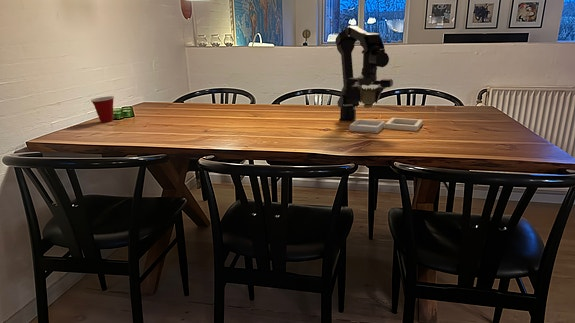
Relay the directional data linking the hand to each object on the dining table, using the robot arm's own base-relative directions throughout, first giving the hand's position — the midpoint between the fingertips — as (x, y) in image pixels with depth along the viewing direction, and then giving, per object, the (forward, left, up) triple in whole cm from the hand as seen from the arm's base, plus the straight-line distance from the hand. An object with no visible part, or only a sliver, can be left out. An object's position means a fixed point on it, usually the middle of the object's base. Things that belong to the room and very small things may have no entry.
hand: (368, 102), depth 168 cm
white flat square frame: (+14, +10, -11) cm, 21 cm away
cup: (0, 0, -2) cm, 2 cm away
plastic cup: (-125, -32, -12) cm, 130 cm away
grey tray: (0, 0, -11) cm, 11 cm away
